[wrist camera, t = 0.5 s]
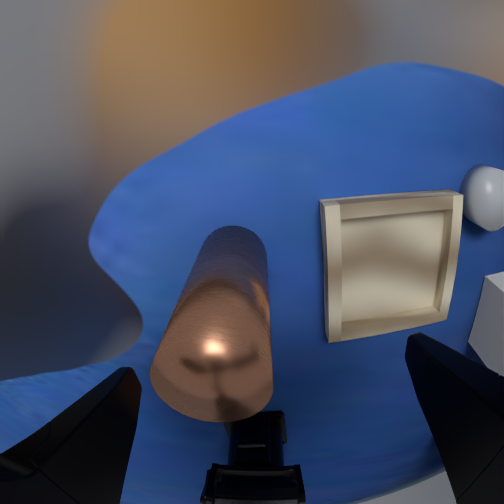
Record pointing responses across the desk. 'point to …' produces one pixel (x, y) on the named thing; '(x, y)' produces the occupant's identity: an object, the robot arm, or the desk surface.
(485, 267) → the desk surface
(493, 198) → the flattened gray dome
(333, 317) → the tray
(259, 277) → the copper cylinder
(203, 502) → the robot arm
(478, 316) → the block
